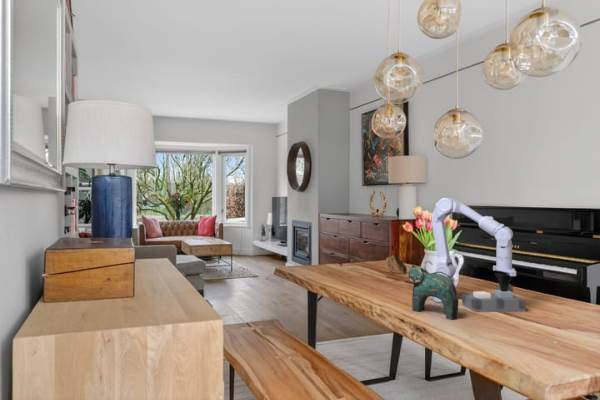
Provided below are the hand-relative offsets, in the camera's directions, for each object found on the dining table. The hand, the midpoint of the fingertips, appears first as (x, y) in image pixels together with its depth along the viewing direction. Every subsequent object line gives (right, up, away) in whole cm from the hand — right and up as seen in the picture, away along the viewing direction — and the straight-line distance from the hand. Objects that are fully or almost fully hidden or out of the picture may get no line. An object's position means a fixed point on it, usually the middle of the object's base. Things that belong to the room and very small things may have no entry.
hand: (504, 291), depth 176 cm
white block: (-9, -5, 0) cm, 10 cm away
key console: (-4, -7, 0) cm, 8 cm away
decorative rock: (-25, -7, +83) cm, 87 cm away
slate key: (0, -4, 0) cm, 4 cm away
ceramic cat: (-31, -7, -10) cm, 34 cm away
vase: (+7, -7, +14) cm, 17 cm away
